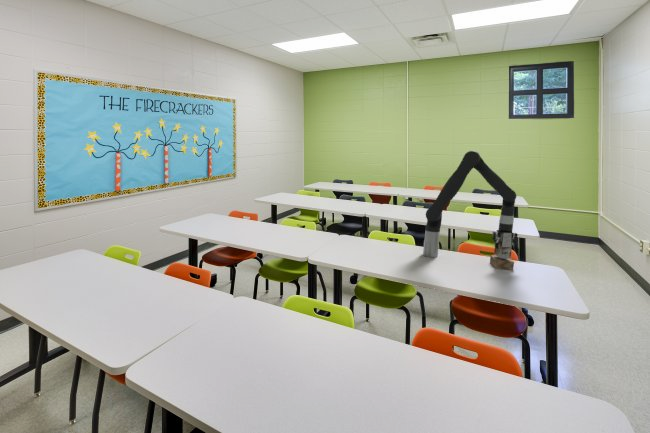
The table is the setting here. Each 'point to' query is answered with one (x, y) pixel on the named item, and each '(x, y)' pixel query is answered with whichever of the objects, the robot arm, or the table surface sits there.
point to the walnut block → (501, 263)
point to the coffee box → (504, 245)
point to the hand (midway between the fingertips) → (503, 248)
